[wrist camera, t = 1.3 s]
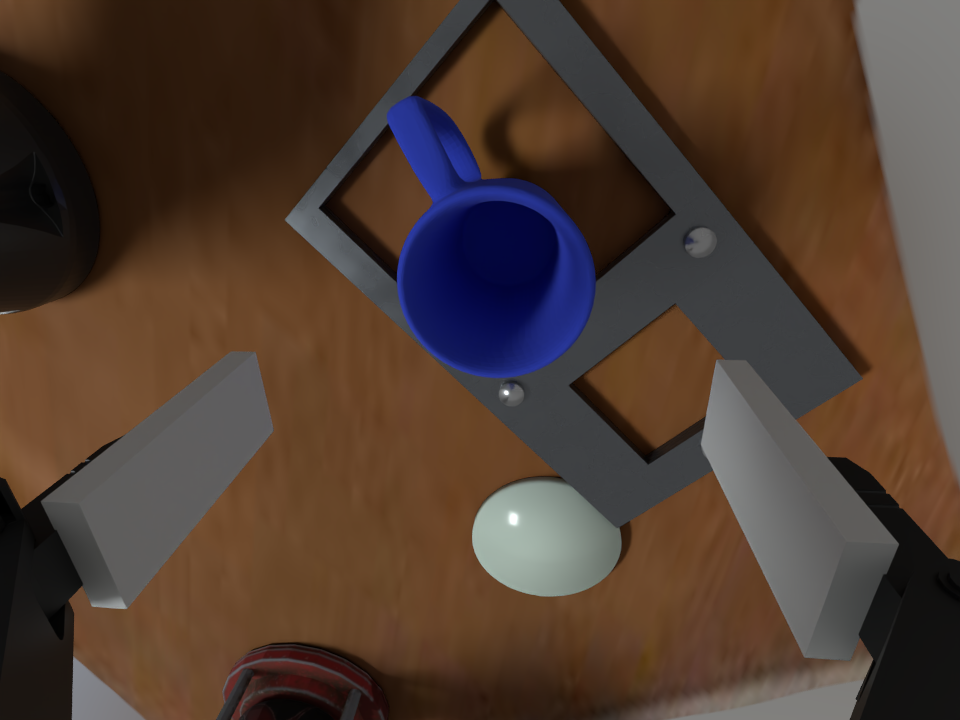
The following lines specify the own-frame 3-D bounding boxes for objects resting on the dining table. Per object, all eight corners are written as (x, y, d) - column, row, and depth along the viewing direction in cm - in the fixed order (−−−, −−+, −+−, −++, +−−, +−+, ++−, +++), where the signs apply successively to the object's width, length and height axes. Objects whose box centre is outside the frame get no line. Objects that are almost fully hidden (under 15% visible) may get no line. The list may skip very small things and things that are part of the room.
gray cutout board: (292, 216, 31) (281, 221, 30) (510, -56, 25) (508, -64, 23) (615, 518, 38) (617, 532, 37) (853, 371, 31) (866, 381, 30)
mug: (507, 61, 27) (490, 34, 18) (603, 268, 31) (628, 332, 22) (376, 144, 29) (301, 158, 20) (480, 326, 33) (457, 406, 24)
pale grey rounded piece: (444, 527, 40) (442, 535, 40) (551, 450, 36) (551, 456, 36) (540, 607, 43) (540, 616, 42) (651, 543, 39) (653, 551, 38)
